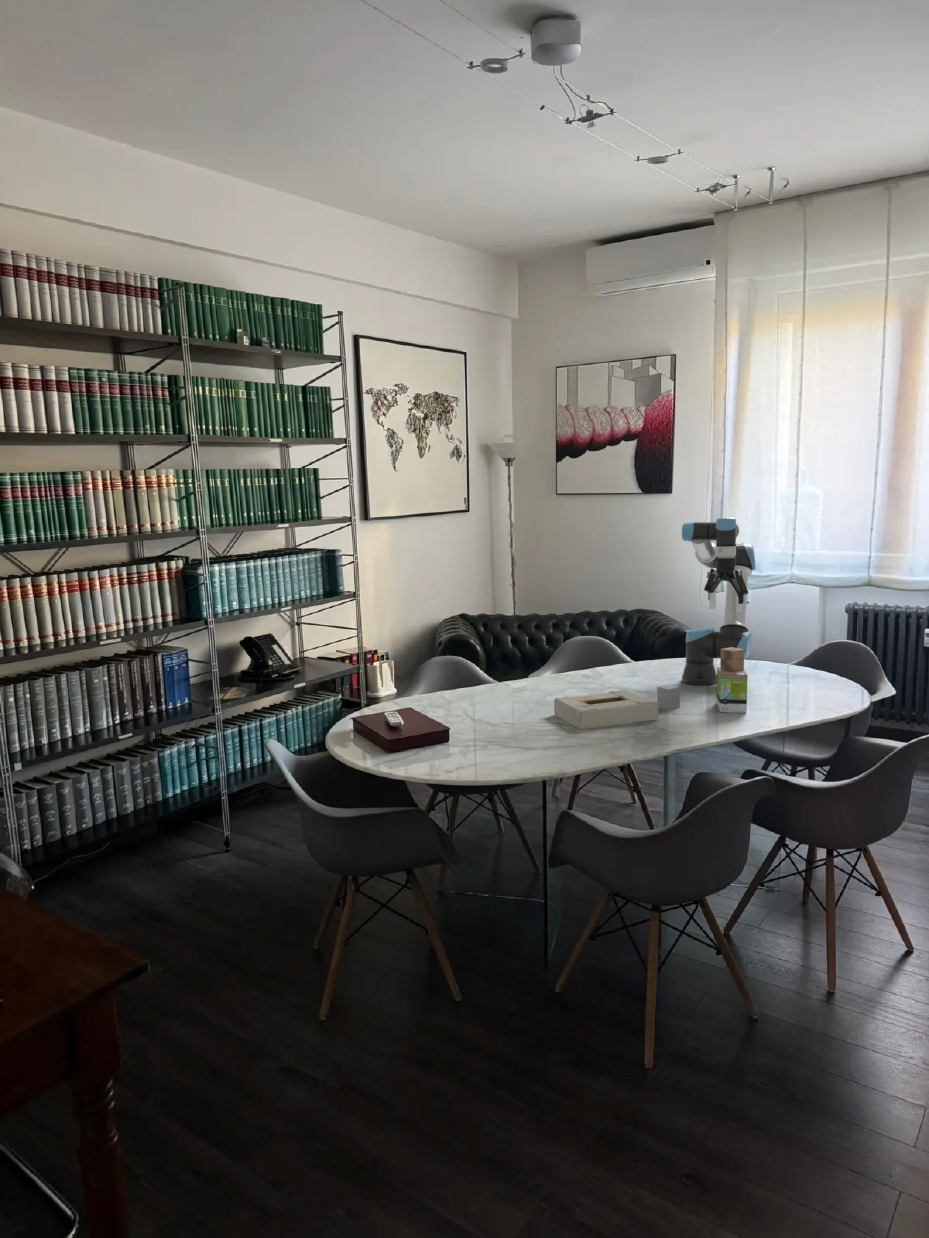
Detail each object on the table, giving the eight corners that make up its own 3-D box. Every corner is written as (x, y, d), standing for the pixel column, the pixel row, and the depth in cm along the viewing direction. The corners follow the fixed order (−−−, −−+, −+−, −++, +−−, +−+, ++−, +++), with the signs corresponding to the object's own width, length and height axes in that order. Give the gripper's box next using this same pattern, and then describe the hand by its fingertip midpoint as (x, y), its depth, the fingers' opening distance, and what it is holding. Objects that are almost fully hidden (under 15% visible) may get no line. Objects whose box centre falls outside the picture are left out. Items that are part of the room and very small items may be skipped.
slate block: (657, 706, 331) (657, 686, 330) (668, 704, 335) (668, 684, 333) (668, 709, 326) (668, 689, 325) (679, 707, 329) (679, 687, 328)
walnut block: (720, 669, 325) (720, 649, 323) (731, 667, 328) (731, 647, 326) (732, 672, 319) (732, 651, 318) (743, 670, 322) (744, 649, 321)
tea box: (747, 713, 317) (748, 674, 315) (719, 712, 319) (719, 674, 317) (742, 703, 332) (743, 666, 330) (715, 703, 334) (716, 666, 332)
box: (581, 731, 303) (659, 720, 313) (580, 710, 302) (659, 699, 312) (553, 717, 325) (627, 707, 335) (552, 697, 324) (627, 687, 334)
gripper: (695, 556, 346) (695, 608, 349) (744, 559, 325) (744, 614, 327) (708, 555, 350) (708, 606, 353) (757, 557, 328) (757, 612, 331)
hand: (725, 610), depth 340 cm, fingers open, 13 cm apart
